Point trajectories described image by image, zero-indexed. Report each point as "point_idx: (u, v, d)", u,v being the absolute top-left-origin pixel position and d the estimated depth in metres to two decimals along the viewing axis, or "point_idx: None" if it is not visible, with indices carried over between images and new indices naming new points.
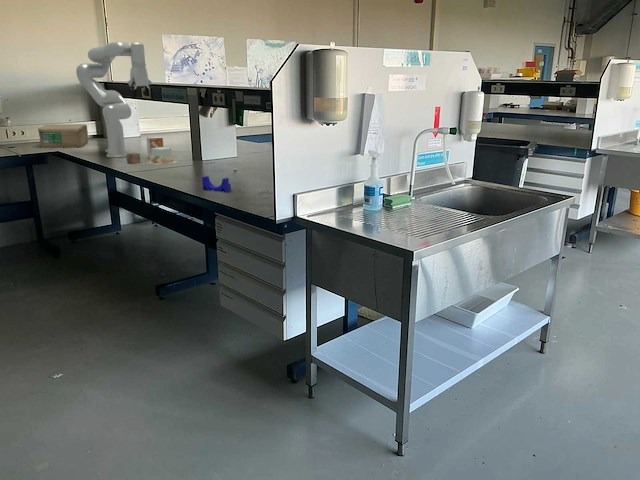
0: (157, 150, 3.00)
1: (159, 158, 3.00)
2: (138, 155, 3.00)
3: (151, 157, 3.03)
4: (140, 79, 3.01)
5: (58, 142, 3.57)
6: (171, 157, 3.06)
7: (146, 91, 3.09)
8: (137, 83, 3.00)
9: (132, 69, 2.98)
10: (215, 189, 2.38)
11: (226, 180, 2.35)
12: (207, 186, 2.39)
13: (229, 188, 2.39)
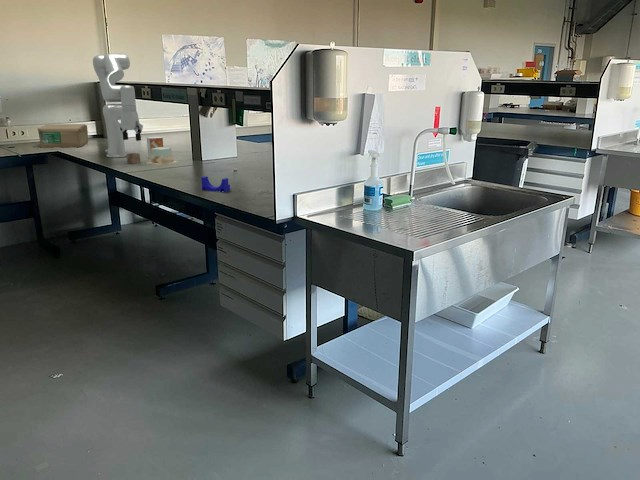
0: (157, 150, 3.00)
1: (159, 158, 3.00)
2: (138, 155, 3.00)
3: (151, 157, 3.03)
4: None
5: (58, 142, 3.57)
6: (171, 157, 3.06)
7: (126, 134, 2.98)
8: None
9: (135, 112, 2.90)
10: (214, 189, 2.37)
11: (226, 180, 2.35)
12: (206, 186, 2.38)
13: (228, 188, 2.38)
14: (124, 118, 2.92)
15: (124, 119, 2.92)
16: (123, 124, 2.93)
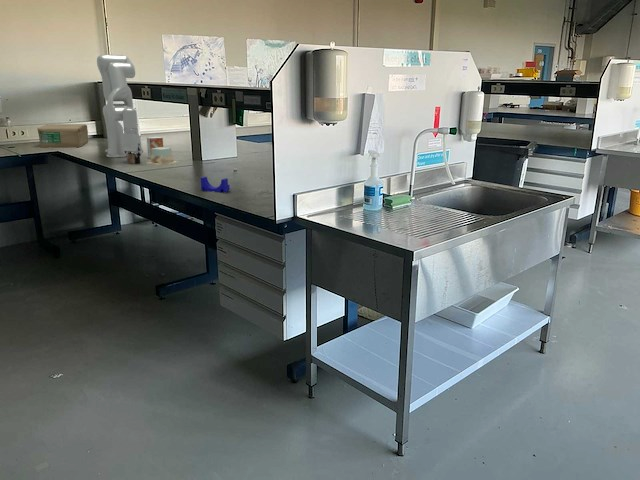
0: (157, 150, 3.00)
1: (159, 158, 3.00)
2: None
3: (151, 157, 3.03)
4: None
5: (57, 142, 3.58)
6: (171, 157, 3.06)
7: None
8: None
9: (136, 135, 2.94)
10: (214, 190, 2.36)
11: (225, 181, 2.34)
12: (206, 187, 2.37)
13: (228, 189, 2.38)
14: (126, 140, 2.95)
15: (126, 141, 2.96)
16: (125, 146, 2.97)
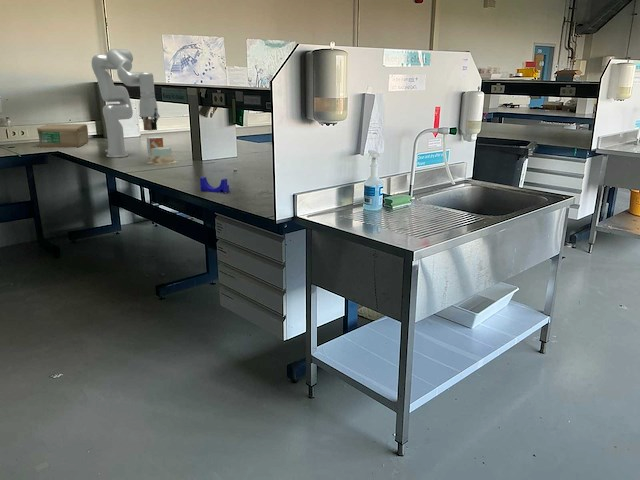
0: (157, 150, 3.00)
1: (159, 158, 3.00)
2: None
3: (151, 157, 3.03)
4: None
5: (57, 142, 3.59)
6: (171, 157, 3.06)
7: None
8: None
9: (153, 99, 2.91)
10: (213, 190, 2.35)
11: (225, 181, 2.34)
12: (205, 187, 2.36)
13: (228, 189, 2.37)
14: (143, 105, 2.93)
15: (142, 106, 2.93)
16: (142, 111, 2.94)
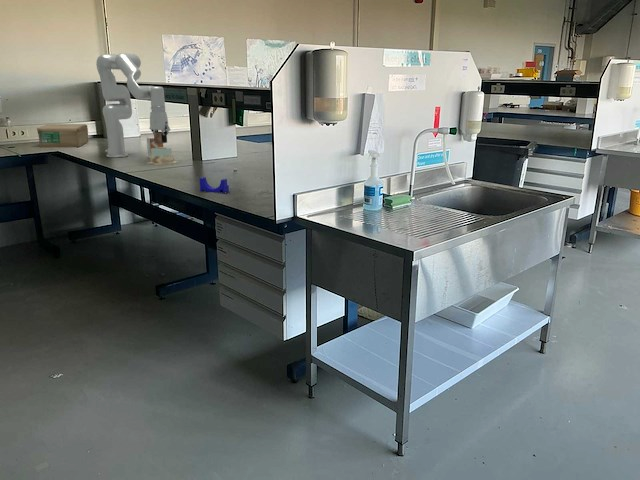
0: (157, 150, 3.00)
1: (159, 158, 3.00)
2: None
3: (151, 157, 3.03)
4: None
5: (56, 142, 3.59)
6: (171, 157, 3.06)
7: None
8: None
9: (164, 113, 2.95)
10: (213, 190, 2.35)
11: (225, 181, 2.33)
12: (205, 187, 2.36)
13: (227, 189, 2.37)
14: (153, 118, 2.97)
15: (153, 119, 2.97)
16: (152, 124, 2.98)
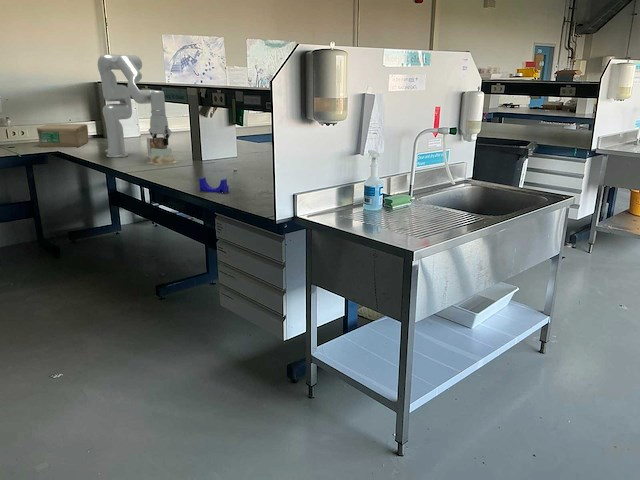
0: (157, 150, 3.00)
1: (159, 158, 3.00)
2: None
3: (151, 157, 3.03)
4: None
5: (56, 142, 3.59)
6: (171, 157, 3.06)
7: None
8: None
9: (164, 117, 2.96)
10: (213, 191, 2.35)
11: (224, 181, 2.33)
12: (205, 188, 2.35)
13: (227, 189, 2.36)
14: (154, 122, 2.97)
15: (153, 123, 2.98)
16: (152, 128, 2.99)
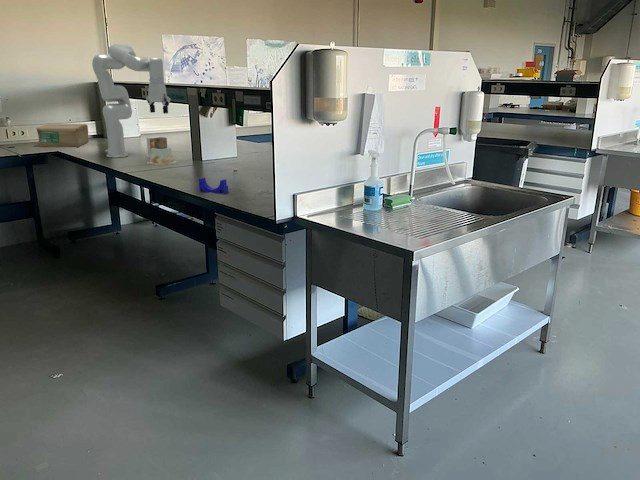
0: (157, 150, 3.00)
1: (159, 158, 3.00)
2: (165, 139, 3.02)
3: (151, 157, 3.03)
4: None
5: (56, 141, 3.60)
6: (171, 157, 3.06)
7: (153, 107, 2.99)
8: None
9: (163, 85, 2.91)
10: (213, 191, 2.34)
11: (224, 181, 2.32)
12: (204, 188, 2.35)
13: (227, 190, 2.36)
14: (152, 90, 2.93)
15: (152, 92, 2.93)
16: (151, 96, 2.94)
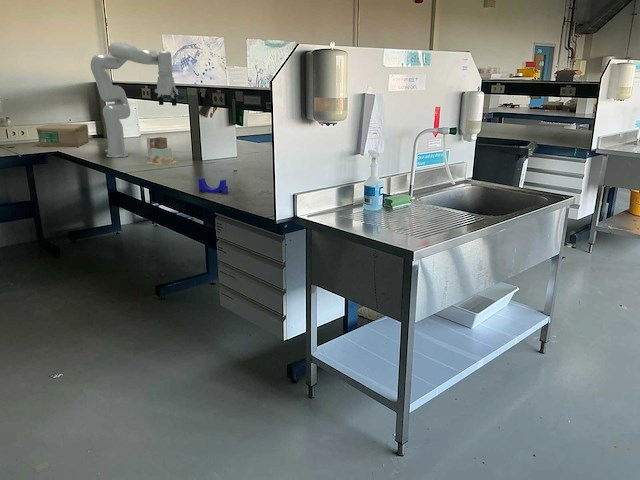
0: (157, 150, 3.00)
1: (159, 158, 3.00)
2: (165, 139, 3.02)
3: (151, 157, 3.03)
4: None
5: (56, 141, 3.60)
6: (171, 157, 3.06)
7: (161, 100, 3.06)
8: None
9: (171, 77, 2.98)
10: (212, 191, 2.33)
11: (224, 182, 2.32)
12: (204, 188, 2.34)
13: (226, 190, 2.35)
14: (161, 83, 2.99)
15: (160, 84, 2.99)
16: (159, 89, 3.00)
